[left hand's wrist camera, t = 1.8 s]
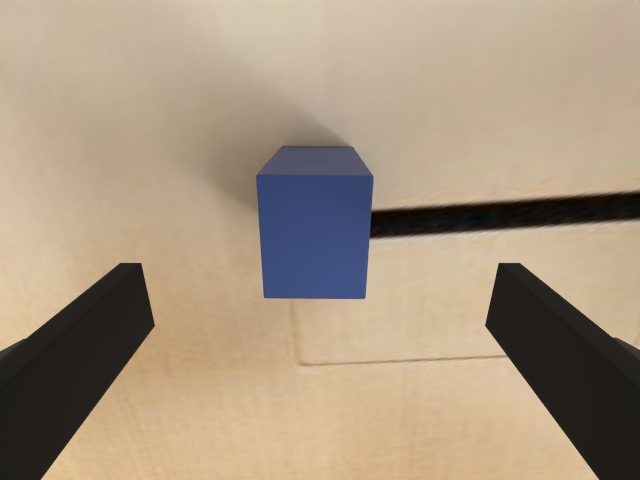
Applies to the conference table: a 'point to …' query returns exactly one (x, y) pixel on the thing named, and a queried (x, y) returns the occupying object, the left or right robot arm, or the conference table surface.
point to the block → (314, 223)
